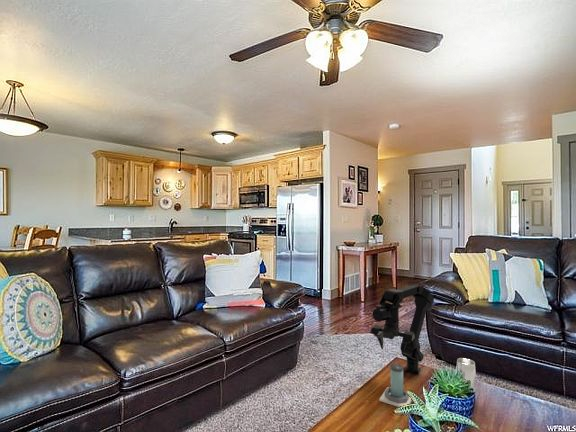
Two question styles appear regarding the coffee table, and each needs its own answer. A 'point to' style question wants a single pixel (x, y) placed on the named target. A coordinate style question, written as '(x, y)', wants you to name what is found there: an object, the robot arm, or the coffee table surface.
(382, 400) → the mount plate
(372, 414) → the coffee table surface
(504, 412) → the coffee table surface
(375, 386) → the coffee table surface
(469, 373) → the beer glass
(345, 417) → the coffee table surface
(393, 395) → the teal cylinder
